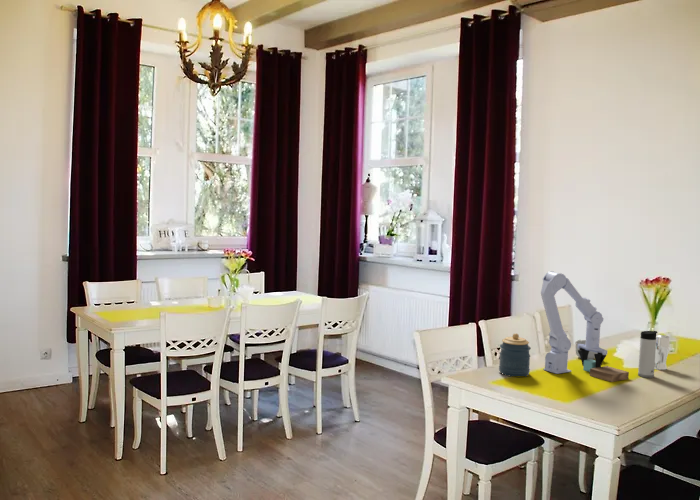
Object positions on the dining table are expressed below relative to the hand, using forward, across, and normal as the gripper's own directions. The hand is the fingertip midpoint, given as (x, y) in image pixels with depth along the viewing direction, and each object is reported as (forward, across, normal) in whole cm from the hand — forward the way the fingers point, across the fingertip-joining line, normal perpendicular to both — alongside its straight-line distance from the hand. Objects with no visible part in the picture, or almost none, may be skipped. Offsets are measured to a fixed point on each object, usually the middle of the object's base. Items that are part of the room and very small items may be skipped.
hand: (591, 367), depth 285 cm
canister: (+2, +11, +36) cm, 38 cm away
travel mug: (+2, -17, -15) cm, 23 cm away
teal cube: (+2, 0, 0) cm, 2 cm away
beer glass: (+2, -11, -33) cm, 35 cm away
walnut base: (+1, -11, +2) cm, 11 cm away
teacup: (+2, +18, -18) cm, 26 cm away
